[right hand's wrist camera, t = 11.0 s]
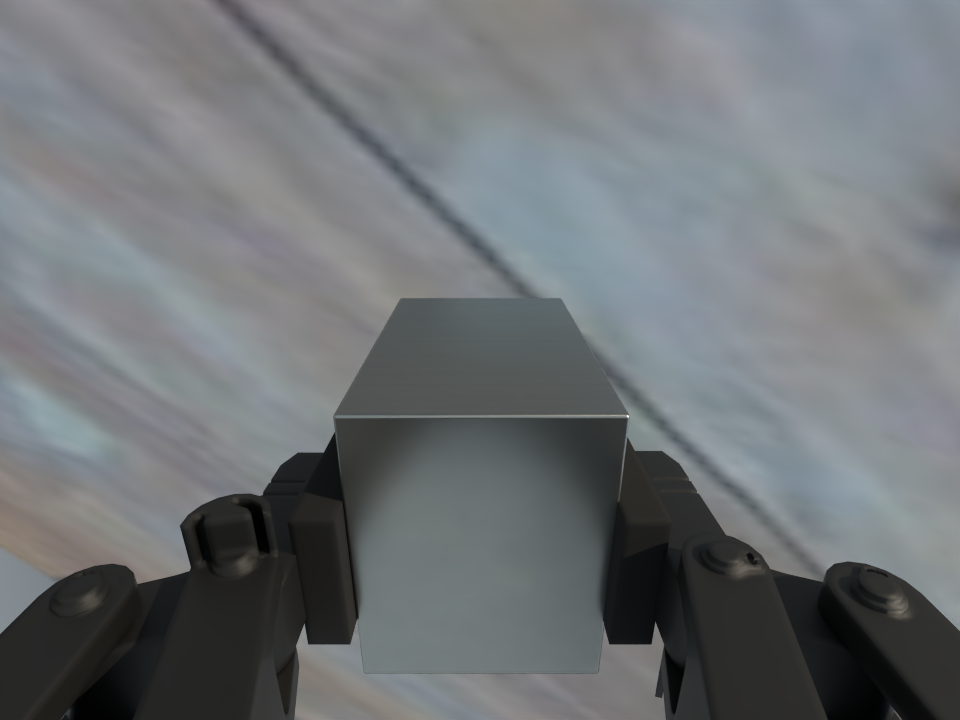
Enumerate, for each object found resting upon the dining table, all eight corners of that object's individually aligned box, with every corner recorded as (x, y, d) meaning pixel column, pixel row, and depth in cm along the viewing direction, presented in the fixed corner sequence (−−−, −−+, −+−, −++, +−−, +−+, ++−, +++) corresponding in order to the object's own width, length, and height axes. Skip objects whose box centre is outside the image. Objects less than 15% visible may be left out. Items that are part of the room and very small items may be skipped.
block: (561, 297, 15) (630, 414, 8) (551, 468, 17) (598, 674, 10) (399, 297, 15) (331, 415, 8) (409, 468, 17) (362, 674, 10)
